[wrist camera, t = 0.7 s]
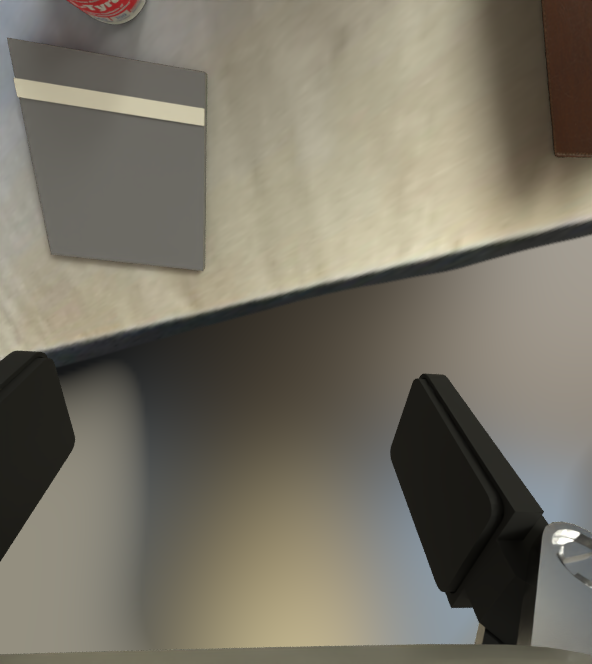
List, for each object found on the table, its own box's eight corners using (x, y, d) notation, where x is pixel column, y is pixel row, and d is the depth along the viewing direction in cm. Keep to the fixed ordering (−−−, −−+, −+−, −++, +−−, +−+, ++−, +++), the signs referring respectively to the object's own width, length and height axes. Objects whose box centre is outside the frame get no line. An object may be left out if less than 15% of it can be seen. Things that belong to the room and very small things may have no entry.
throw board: (15, 41, 26) (4, 36, 25) (207, 74, 27) (204, 71, 26) (57, 251, 33) (50, 254, 32) (204, 267, 35) (202, 271, 34)
